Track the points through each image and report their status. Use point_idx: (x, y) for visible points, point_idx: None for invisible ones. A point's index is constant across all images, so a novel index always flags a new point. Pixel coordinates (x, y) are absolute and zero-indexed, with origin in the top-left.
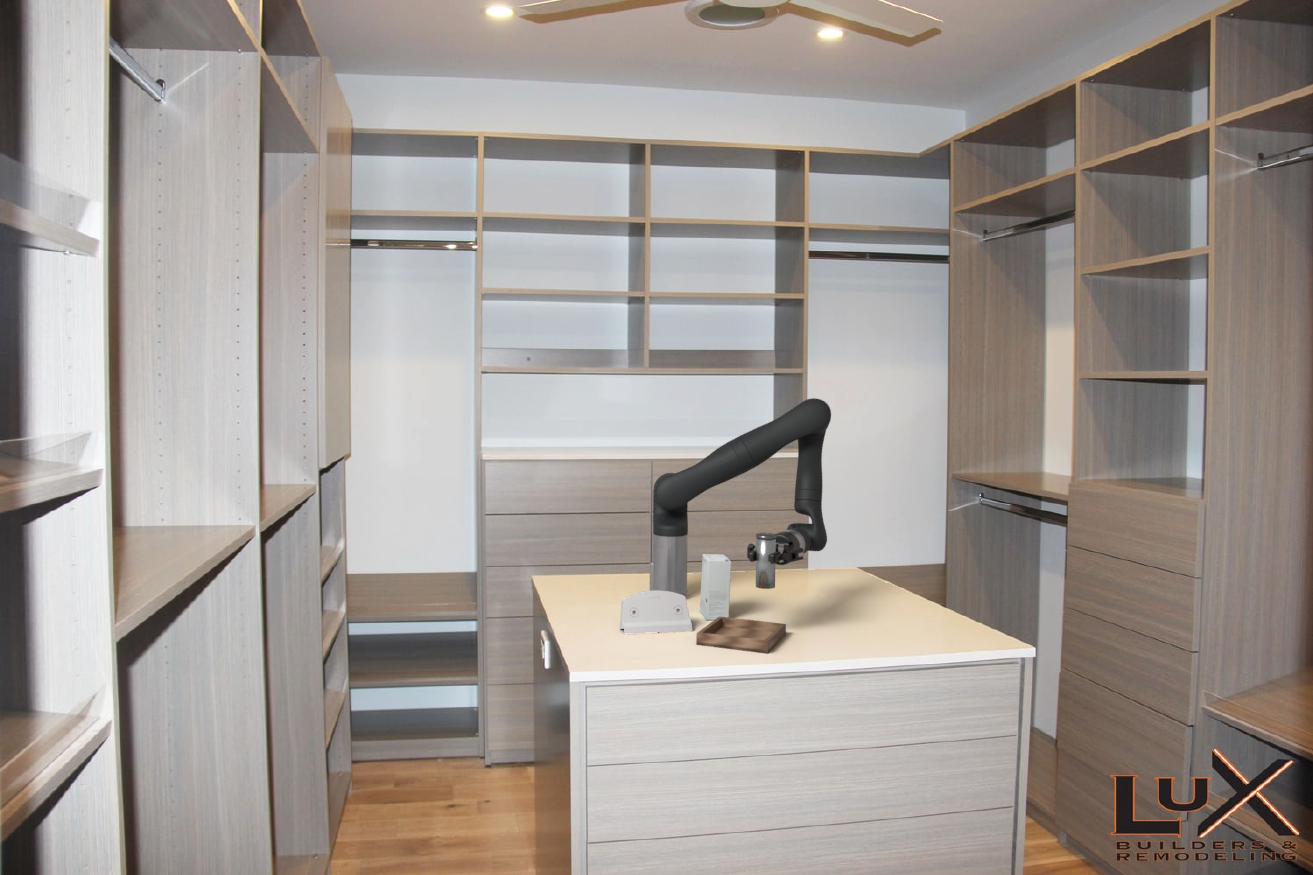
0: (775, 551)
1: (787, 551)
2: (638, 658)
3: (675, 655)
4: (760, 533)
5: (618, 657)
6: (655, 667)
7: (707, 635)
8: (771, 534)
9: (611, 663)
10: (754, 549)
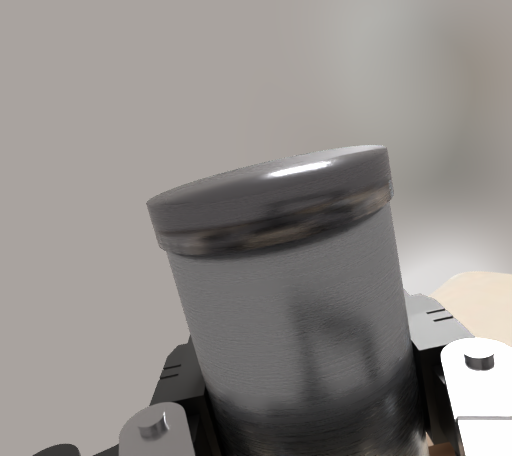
0: (203, 376)
1: (65, 450)
2: (467, 326)
3: None
4: (353, 156)
5: (498, 311)
6: None
7: None
8: (206, 189)
9: (470, 297)
10: (472, 342)
